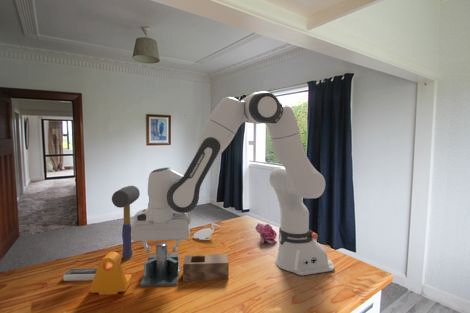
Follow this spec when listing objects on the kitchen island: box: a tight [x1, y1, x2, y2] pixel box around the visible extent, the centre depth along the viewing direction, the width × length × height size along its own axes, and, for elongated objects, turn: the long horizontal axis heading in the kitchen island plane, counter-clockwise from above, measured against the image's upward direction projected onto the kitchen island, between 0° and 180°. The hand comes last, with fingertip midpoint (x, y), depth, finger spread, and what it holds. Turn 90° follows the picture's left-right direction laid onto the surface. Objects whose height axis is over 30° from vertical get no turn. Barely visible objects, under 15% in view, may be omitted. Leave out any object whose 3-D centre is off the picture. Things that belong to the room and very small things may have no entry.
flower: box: [255, 223, 278, 245], centre depth 127 cm, size 11×10×10 cm
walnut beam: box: [182, 253, 230, 282], centre depth 95 cm, size 16×7×6 cm, turn 95°
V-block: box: [139, 252, 182, 288], centre depth 93 cm, size 12×12×6 cm
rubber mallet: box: [111, 185, 141, 260], centre depth 107 cm, size 12×8×30 cm, turn 0°
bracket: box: [89, 251, 133, 296], centre depth 86 cm, size 11×7×12 cm, turn 95°
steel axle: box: [155, 242, 169, 278], centre depth 93 cm, size 4×4×11 cm
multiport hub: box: [62, 267, 98, 282], centre depth 93 cm, size 4×14×2 cm, turn 94°
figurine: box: [193, 222, 222, 241], centre depth 128 cm, size 14×4×9 cm, turn 89°
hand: (161, 251), depth 92 cm, fingers open, 8 cm apart
